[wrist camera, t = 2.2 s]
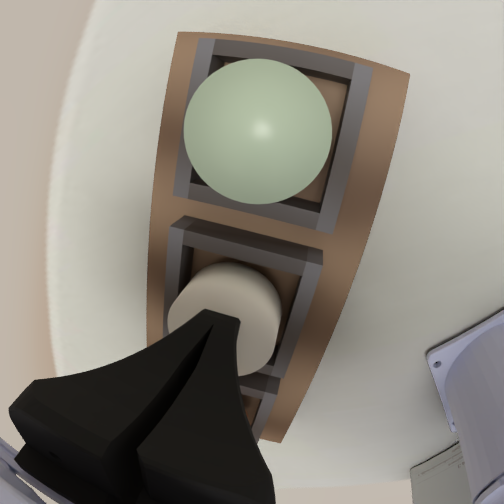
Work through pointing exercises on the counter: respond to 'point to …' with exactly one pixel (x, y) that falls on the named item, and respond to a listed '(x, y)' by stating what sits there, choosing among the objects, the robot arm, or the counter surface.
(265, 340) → the cream button
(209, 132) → the sage button
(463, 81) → the counter surface
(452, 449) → the supplement box
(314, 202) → the button board
